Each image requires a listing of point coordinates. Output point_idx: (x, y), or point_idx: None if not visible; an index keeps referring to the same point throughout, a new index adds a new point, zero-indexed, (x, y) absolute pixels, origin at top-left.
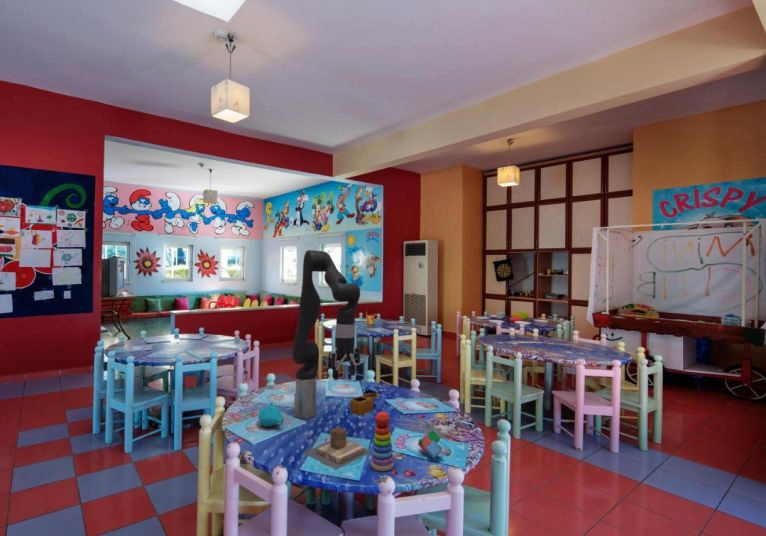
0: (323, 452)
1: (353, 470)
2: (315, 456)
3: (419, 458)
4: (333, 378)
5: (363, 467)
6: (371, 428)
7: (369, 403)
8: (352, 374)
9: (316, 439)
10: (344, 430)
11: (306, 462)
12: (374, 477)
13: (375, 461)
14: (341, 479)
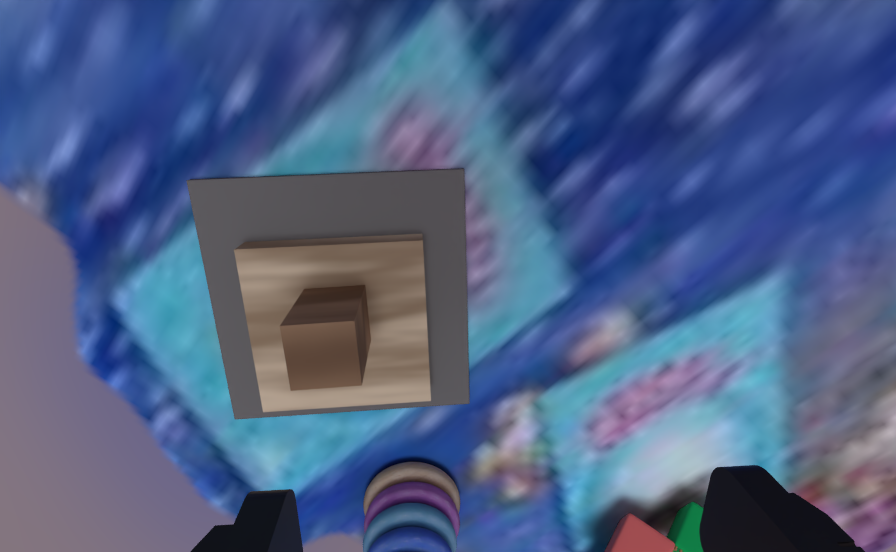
0: (245, 302)
1: (300, 450)
2: (222, 263)
3: (562, 536)
4: (249, 506)
5: (348, 457)
6: (691, 189)
7: None
8: (713, 541)
9: (360, 70)
10: (347, 384)
11: (167, 265)
12: (329, 528)
13: (364, 528)
14: (219, 469)
